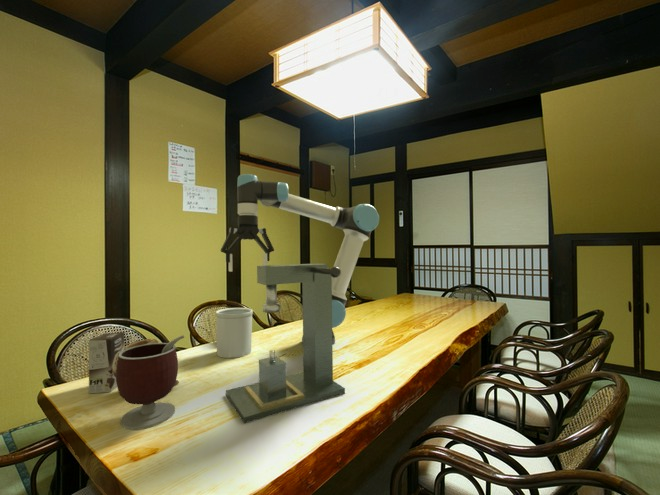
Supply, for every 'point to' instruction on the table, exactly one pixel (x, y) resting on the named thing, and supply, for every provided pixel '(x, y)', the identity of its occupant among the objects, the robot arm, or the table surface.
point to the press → (316, 343)
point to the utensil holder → (233, 332)
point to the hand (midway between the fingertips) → (248, 270)
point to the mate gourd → (147, 382)
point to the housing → (272, 376)
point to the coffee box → (104, 361)
